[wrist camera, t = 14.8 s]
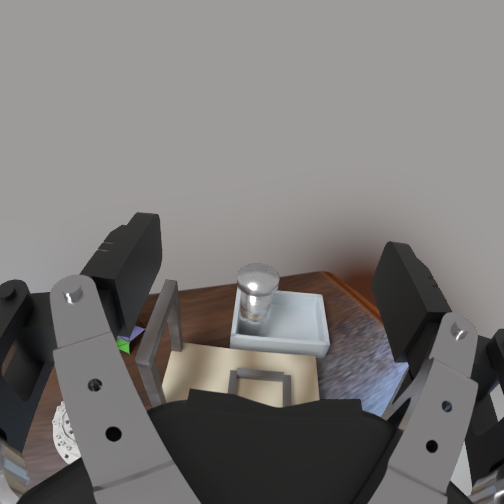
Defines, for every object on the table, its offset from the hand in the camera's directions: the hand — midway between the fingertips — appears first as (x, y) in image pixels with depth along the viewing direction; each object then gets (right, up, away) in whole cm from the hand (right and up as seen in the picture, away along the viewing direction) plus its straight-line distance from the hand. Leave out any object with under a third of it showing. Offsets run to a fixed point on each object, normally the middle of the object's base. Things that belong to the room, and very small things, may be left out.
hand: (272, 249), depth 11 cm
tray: (+3, -11, +34) cm, 36 cm away
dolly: (-2, -17, +24) cm, 29 cm away
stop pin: (-1, -11, +32) cm, 34 cm away
